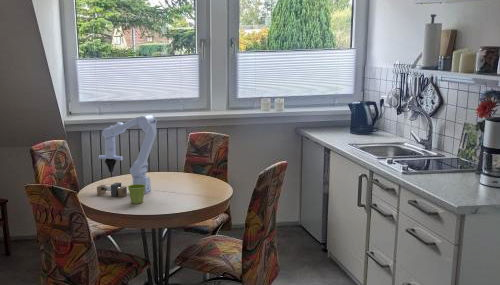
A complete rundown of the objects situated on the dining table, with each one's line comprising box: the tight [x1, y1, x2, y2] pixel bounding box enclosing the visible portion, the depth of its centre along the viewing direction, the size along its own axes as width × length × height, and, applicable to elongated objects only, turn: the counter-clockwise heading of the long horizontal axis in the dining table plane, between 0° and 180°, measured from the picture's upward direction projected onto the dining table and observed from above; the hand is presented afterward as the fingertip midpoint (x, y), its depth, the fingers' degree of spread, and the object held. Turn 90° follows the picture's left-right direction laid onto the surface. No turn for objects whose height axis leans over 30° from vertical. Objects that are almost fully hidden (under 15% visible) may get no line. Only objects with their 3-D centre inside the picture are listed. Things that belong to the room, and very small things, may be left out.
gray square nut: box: [110, 182, 122, 197], centre depth 288 cm, size 3×6×6 cm, turn 164°
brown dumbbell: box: [96, 184, 128, 198], centre depth 289 cm, size 15×5×5 cm, turn 74°
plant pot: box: [127, 184, 146, 205], centre depth 275 cm, size 9×9×9 cm
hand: (111, 171), depth 301 cm, fingers closed
